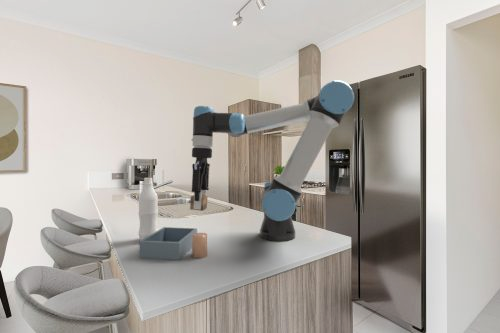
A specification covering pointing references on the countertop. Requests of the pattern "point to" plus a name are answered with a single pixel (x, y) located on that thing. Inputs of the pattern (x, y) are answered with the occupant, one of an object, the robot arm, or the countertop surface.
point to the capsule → (199, 245)
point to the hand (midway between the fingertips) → (199, 207)
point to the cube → (203, 203)
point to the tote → (167, 243)
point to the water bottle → (148, 209)
